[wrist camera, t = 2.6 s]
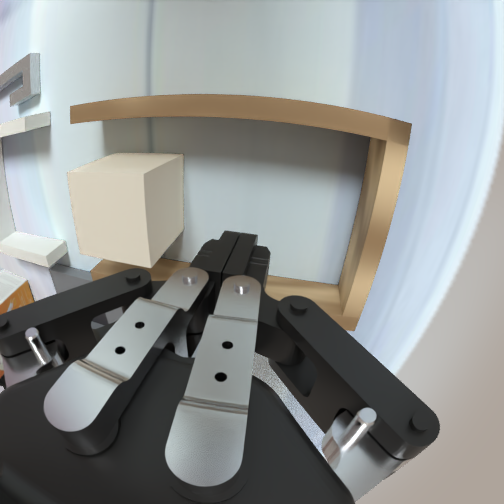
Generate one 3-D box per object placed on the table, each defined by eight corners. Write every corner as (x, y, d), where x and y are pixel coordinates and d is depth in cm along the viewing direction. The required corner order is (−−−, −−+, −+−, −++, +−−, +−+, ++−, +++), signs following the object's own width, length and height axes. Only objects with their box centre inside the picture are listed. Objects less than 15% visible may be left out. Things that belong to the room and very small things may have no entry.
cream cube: (116, 152, 19) (67, 172, 14) (184, 154, 18) (143, 173, 13) (121, 220, 21) (80, 254, 17) (184, 228, 21) (151, 268, 16)
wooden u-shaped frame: (101, 102, 17) (70, 106, 14) (391, 119, 15) (411, 123, 12) (115, 261, 23) (93, 284, 20) (349, 299, 21) (354, 331, 18)
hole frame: (55, 263, 25) (49, 269, 24) (123, 279, 24) (116, 287, 23) (77, 326, 29) (72, 333, 28) (139, 347, 28) (134, 355, 27)
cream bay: (-5, 126, 18) (-26, 133, 16) (50, 111, 17) (24, 116, 15) (13, 239, 25) (-4, 251, 22) (67, 251, 24) (49, 267, 21)
